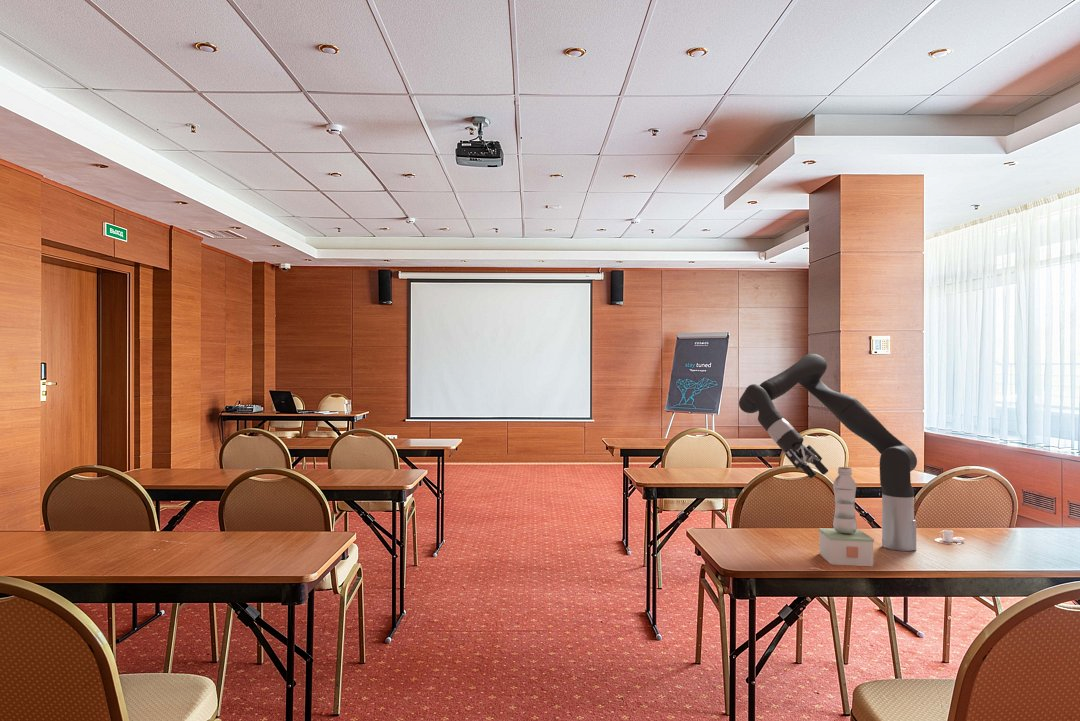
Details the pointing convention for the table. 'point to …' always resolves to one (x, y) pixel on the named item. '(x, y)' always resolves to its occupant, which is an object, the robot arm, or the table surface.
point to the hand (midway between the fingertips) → (819, 474)
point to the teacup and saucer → (950, 537)
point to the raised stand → (846, 547)
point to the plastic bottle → (844, 502)
